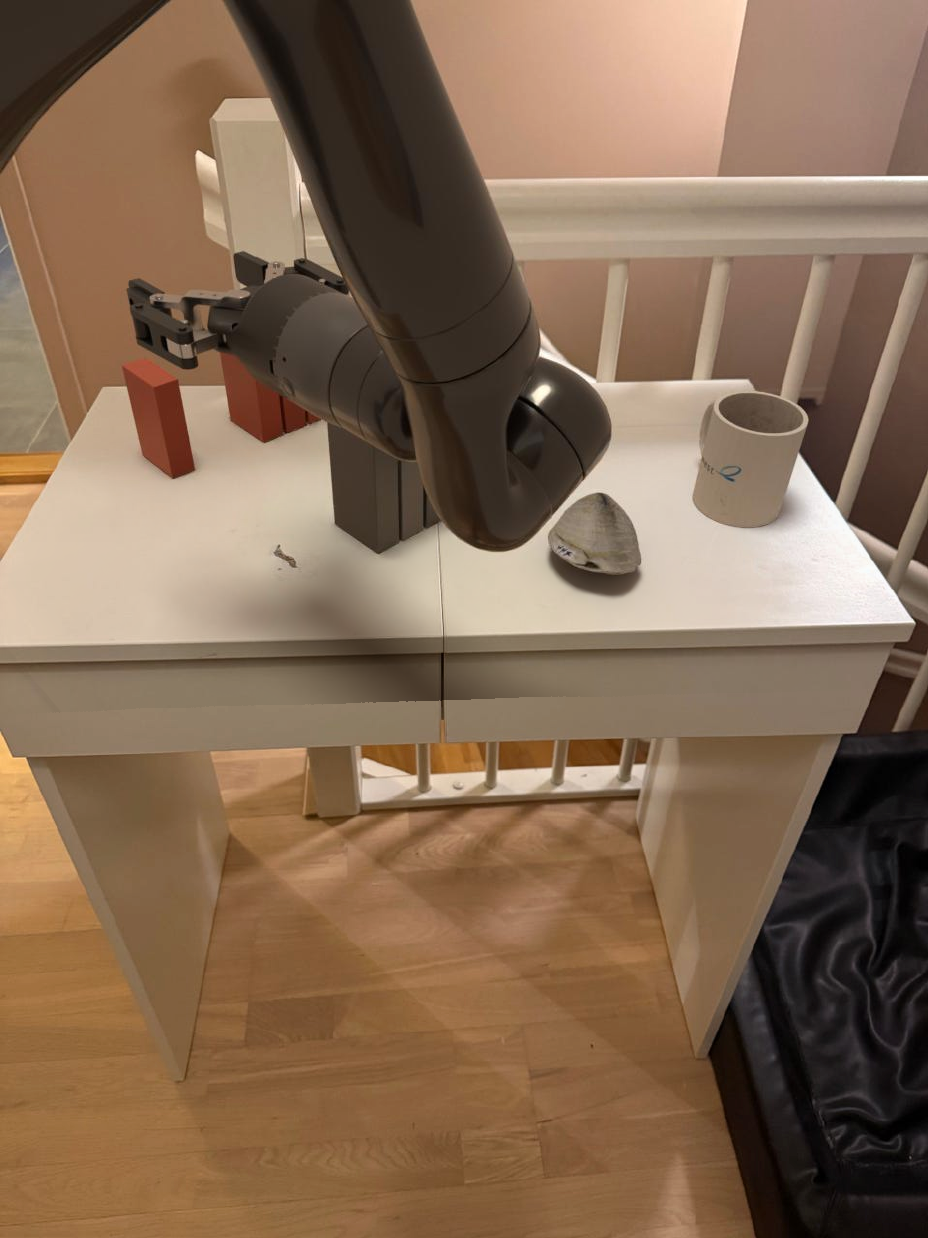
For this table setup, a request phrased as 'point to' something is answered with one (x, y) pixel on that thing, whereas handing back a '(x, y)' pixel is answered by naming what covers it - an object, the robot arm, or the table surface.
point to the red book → (159, 417)
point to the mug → (747, 457)
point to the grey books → (375, 492)
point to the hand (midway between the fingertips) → (188, 278)
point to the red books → (259, 404)
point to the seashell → (596, 536)
